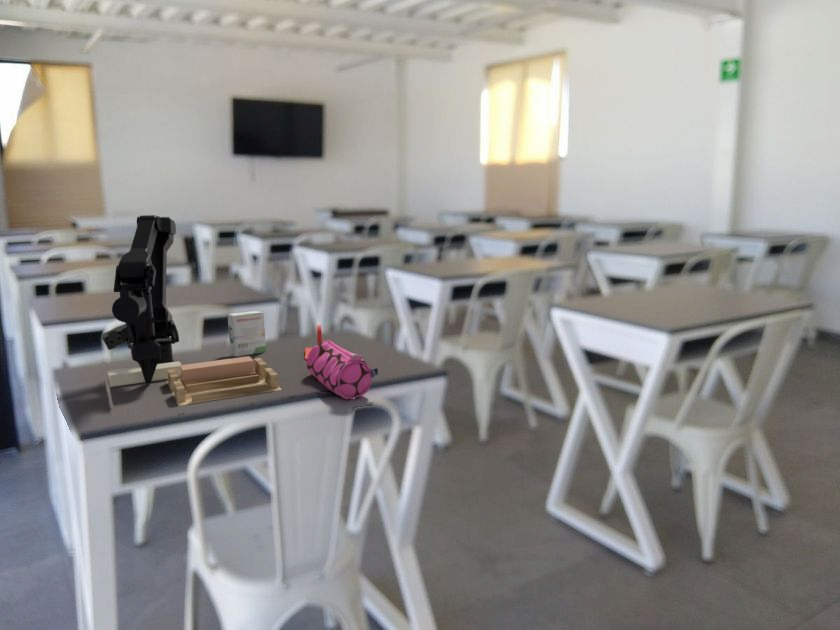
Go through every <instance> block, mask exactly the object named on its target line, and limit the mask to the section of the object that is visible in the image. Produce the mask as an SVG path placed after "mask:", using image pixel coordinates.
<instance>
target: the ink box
mask: <svg viewBox="0 0 840 630" xmlns="http://www.w3.org/2000/svg"><path fill="white" fill-rule="evenodd" d="M264 317H265V315H264V312H262V311H259V310H252V311H243V312H233V313H228V314H227V325H228V338H229V339H228V340H229V341H228V342H229V354H230V355H229V356H230V357H235V358H238V357H245V356H250V355H253V354H260V353H266V352H267V346H266V344H267V342H266V330H265V318H264Z"/></svg>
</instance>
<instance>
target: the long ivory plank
mask: <svg viewBox="0 0 840 630" xmlns="http://www.w3.org/2000/svg"><path fill="white" fill-rule="evenodd" d="M180 365H182V363H181V362H180V361H175V362H170V363H162V364H157V366H156V369H155V372H154V375H153V378H152V381H151V382H154V381H163V380H168V373H167V370H175V372H176V374H177V376H178V378H180V374H181V373H180ZM107 375H108V376H107V378H108V384H109V388H113V387H119V386H125V385H134V384H139V383H140V384H141V383H145V379H144V376H143V373H142V370H141V367H140V366H134V367H126V368H117V369H111V370H107Z"/></svg>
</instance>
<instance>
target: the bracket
mask: <svg viewBox="0 0 840 630" xmlns="http://www.w3.org/2000/svg"><path fill="white" fill-rule="evenodd" d="M316 333H317V334H316V339H317V344H319V343H321V342H323V333H322V325H321V324H320V325H316ZM313 347H314V346H312V347H305V352H304V361H305V362H307V358H308V355H309V353H310V351H311V349H312V348H313Z"/></svg>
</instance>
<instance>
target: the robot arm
mask: <svg viewBox="0 0 840 630" xmlns="http://www.w3.org/2000/svg"><path fill="white" fill-rule="evenodd" d="M176 234H177V228H176V222H175V220H173V219H172V218H170V216H159V215H156V214H153V215H152V214H151V215H150V214H148V215H147V214H146V215H142V214H141V215H140V216H137V217H136V230H135V231H134V236H133V239H132V241H131V247H130V248H129V251H128V252H126V253H125V254H123V255H122V256H121V258H120V260H119V262H118V264H117V265H116V267H115V276H114V283H113V292H114V293H119V297H118V298H117V299H115V301H114V302H113V303H112V306H111V312H112V315H113V316H114V318H115V319H116V320H117V321H119V322H121V323H125V324H122V325H120V326H117V327H115V328H112V329H110V330H108V331H106V332H103V333H102V334H101V339H102V341H103V342H104V345H105V346H106V348H107V350H108V351H109V350H111V351H112V350H114V349H115V348H116V347H118V346H120V345H121V344H124V343H125V344H126V346H127V348H128V349H129V351H130V355H131V359H132V361H134V362H136V363H138V367H141V370H142V373H143V376H144V379H145V382H144V383H145V384H151V383H152V382H153V381H152V378H153V375H154V372H155V369H156V366H157V364H162V363H170V362H176V361H175V360H174V356H173V347H172V344H173V345H174V344H177V343H179V342H180V334H179V331H178V328H177V325H176V323H175V322H174V319H173V315H172V313H171V312H170V310H169V309H168V307H167V266H168V265H167V262H168V261H167V254H168V251H169V249H170V248H171V247H172V246H173V244H174V240H175V239H174V238H175V235H176Z"/></svg>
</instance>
